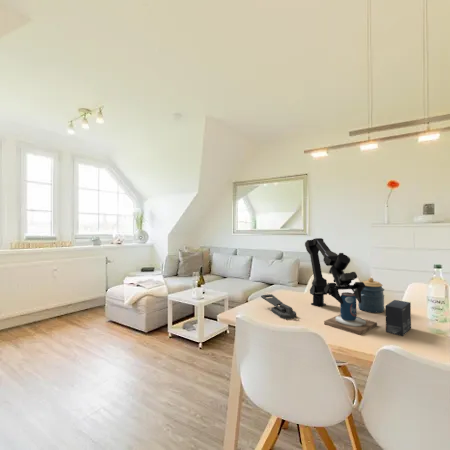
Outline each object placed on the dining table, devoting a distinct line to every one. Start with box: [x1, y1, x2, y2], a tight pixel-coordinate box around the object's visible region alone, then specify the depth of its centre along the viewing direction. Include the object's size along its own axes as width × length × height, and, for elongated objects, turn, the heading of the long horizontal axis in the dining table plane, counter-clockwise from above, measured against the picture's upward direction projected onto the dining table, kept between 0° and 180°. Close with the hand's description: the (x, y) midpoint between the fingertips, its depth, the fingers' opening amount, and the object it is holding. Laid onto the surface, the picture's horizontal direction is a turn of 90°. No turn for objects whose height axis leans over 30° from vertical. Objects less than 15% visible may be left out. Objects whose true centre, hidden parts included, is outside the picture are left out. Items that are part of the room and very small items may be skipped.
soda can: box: [339, 292, 358, 321], centre depth 131 cm, size 7×7×12 cm
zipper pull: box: [260, 293, 297, 320], centre depth 152 cm, size 9×7×25 cm
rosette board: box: [323, 313, 378, 336], centre depth 131 cm, size 17×17×3 cm
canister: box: [357, 277, 385, 314], centre depth 154 cm, size 13×13×18 cm
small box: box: [384, 299, 412, 337], centre depth 124 cm, size 13×7×12 cm, turn 133°
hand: (351, 303), depth 130 cm, fingers open, 9 cm apart
